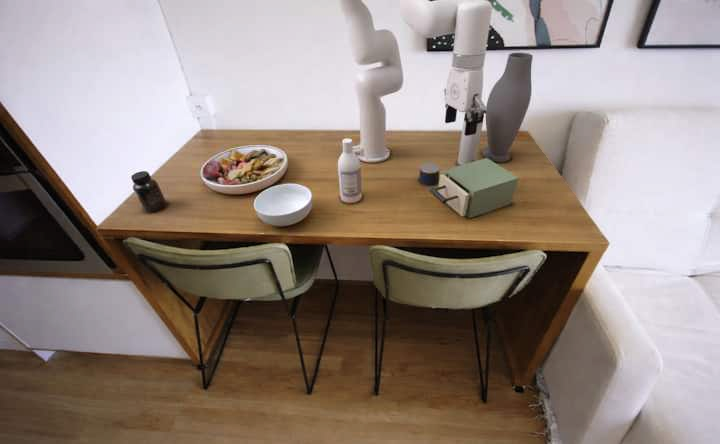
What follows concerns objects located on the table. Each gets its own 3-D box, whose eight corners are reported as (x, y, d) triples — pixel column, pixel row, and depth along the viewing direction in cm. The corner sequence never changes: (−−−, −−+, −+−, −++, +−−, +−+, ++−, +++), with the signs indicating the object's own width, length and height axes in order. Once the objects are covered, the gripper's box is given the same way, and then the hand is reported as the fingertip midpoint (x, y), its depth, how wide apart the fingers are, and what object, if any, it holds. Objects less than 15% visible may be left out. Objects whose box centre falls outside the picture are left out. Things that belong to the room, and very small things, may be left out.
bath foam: (365, 199, 110) (363, 142, 97) (345, 206, 107) (341, 147, 95) (356, 189, 115) (353, 133, 102) (337, 195, 112) (331, 138, 100)
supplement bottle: (142, 205, 113) (125, 174, 105) (164, 198, 116) (149, 167, 108) (146, 215, 108) (128, 183, 101) (169, 207, 111) (153, 175, 104)
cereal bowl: (311, 197, 112) (308, 179, 108) (318, 228, 99) (315, 209, 95) (258, 206, 109) (253, 188, 105) (259, 239, 97) (253, 220, 92)
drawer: (446, 221, 98) (449, 200, 93) (422, 199, 107) (424, 179, 102) (501, 203, 104) (507, 182, 99) (474, 183, 113) (478, 163, 108)
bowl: (271, 149, 141) (267, 131, 136) (303, 179, 121) (299, 159, 116) (196, 172, 129) (189, 153, 124) (218, 209, 109) (210, 189, 104)
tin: (421, 186, 115) (422, 173, 111) (417, 176, 120) (418, 163, 117) (440, 184, 115) (442, 171, 112) (435, 174, 120) (437, 162, 117)
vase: (471, 153, 131) (488, 54, 109) (494, 144, 136) (515, 47, 114) (499, 167, 122) (524, 62, 100) (522, 156, 127) (551, 54, 105)
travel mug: (476, 169, 122) (487, 114, 109) (457, 168, 123) (465, 113, 110) (475, 160, 126) (485, 107, 114) (457, 159, 128) (464, 106, 115)
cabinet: (469, 218, 100) (474, 191, 94) (441, 194, 110) (445, 169, 104) (511, 203, 105) (518, 177, 99) (481, 182, 115) (486, 157, 109)
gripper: (436, 56, 89) (432, 120, 99) (475, 70, 76) (465, 142, 86) (461, 52, 91) (454, 115, 101) (504, 66, 77) (491, 137, 88)
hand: (459, 128), depth 94 cm, fingers open, 9 cm apart
